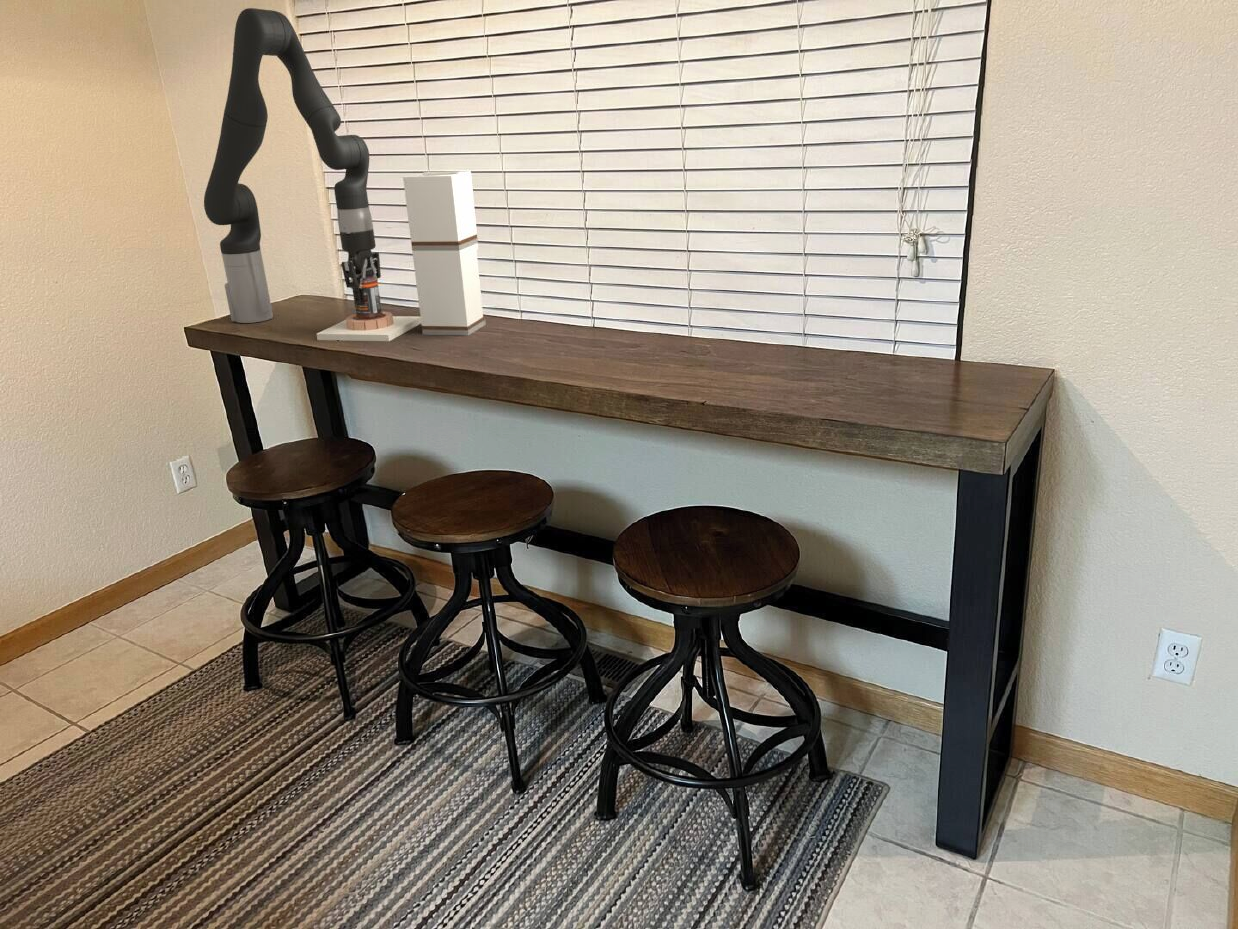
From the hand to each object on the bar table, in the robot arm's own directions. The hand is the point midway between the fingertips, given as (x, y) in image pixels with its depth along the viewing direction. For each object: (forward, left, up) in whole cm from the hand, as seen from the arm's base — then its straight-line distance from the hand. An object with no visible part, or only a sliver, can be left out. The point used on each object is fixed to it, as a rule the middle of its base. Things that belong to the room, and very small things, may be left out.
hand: (367, 301), depth 215 cm
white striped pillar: (+20, +3, -7) cm, 22 cm away
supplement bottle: (0, 0, -4) cm, 4 cm away
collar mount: (0, 0, -7) cm, 7 cm away
